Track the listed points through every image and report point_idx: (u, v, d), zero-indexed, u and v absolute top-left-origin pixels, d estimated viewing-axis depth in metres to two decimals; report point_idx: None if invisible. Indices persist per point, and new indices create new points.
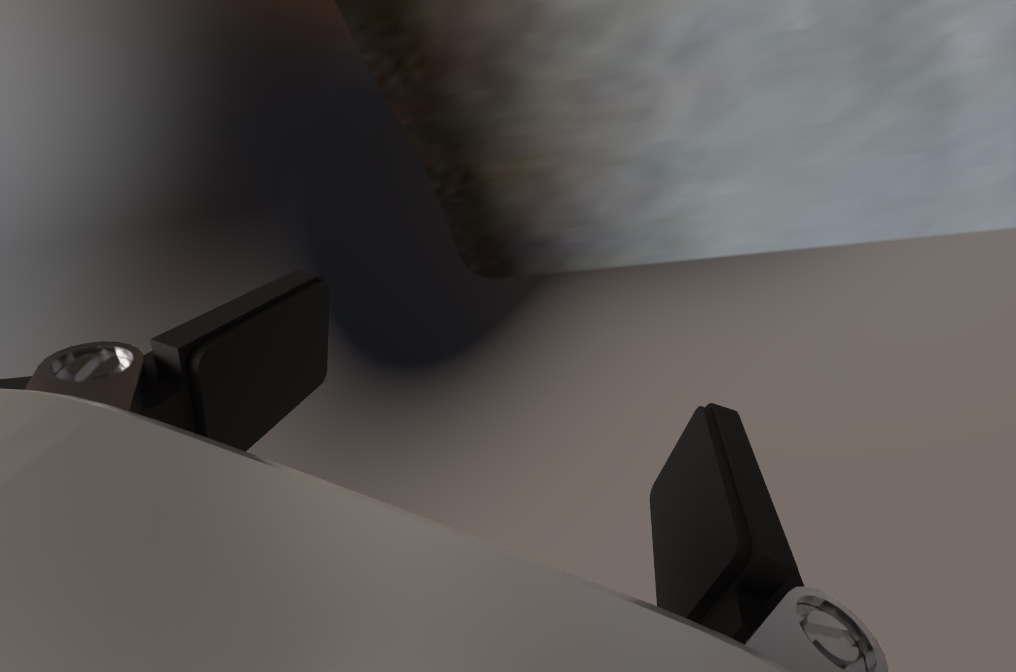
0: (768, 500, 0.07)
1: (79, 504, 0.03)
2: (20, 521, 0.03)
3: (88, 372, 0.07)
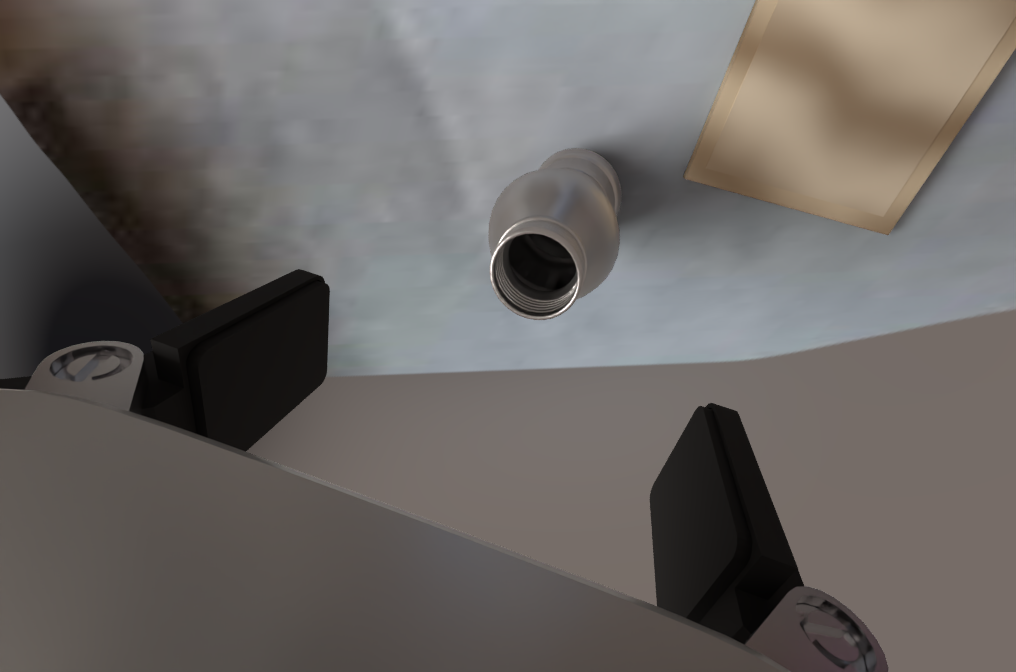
0: (768, 500, 0.07)
1: (79, 504, 0.03)
2: (20, 521, 0.03)
3: (88, 372, 0.07)
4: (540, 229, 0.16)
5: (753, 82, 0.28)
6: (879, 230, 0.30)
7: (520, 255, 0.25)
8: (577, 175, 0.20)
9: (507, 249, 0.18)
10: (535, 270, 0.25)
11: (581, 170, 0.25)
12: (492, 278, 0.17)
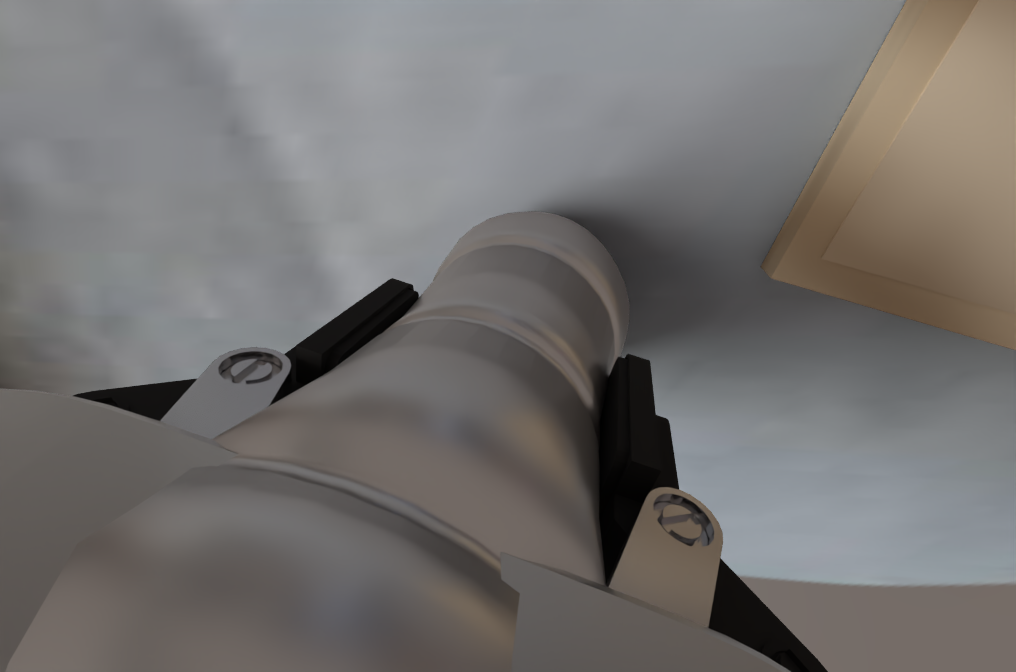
0: (653, 424, 0.08)
1: (79, 504, 0.03)
2: (20, 521, 0.03)
3: (248, 376, 0.07)
4: None
5: (973, 59, 0.11)
6: None
7: None
8: (326, 639, 0.03)
9: None
10: None
11: (510, 315, 0.08)
12: None
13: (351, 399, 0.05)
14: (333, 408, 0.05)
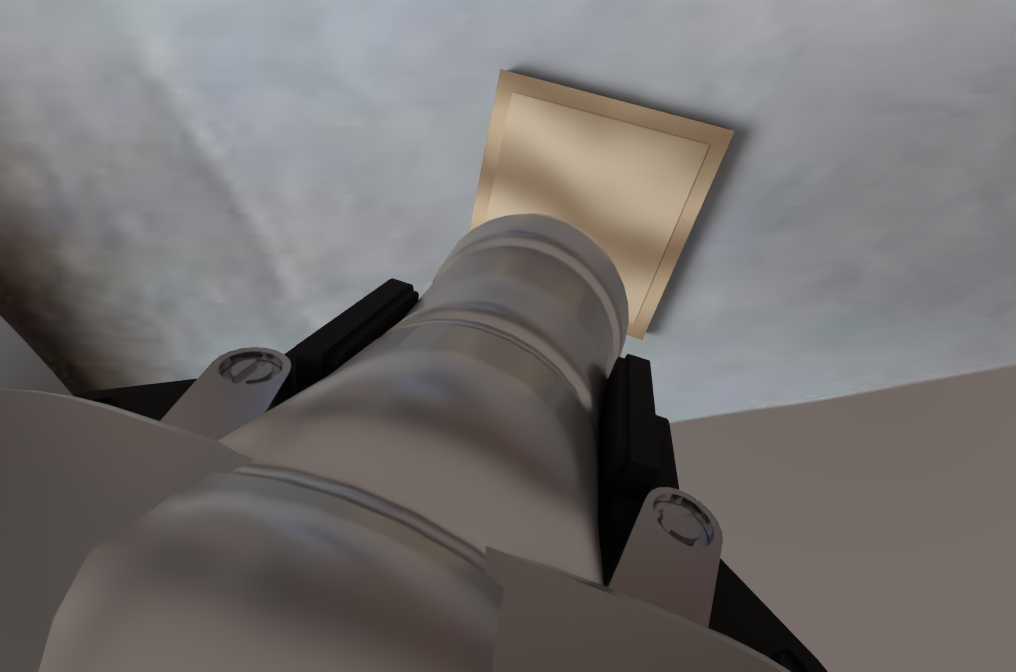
0: (653, 424, 0.08)
1: (79, 504, 0.03)
2: (20, 521, 0.03)
3: (248, 376, 0.07)
4: None
5: (498, 203, 0.30)
6: (633, 335, 0.32)
7: None
8: (325, 646, 0.03)
9: None
10: None
11: (509, 318, 0.08)
12: None
13: (350, 404, 0.05)
14: (332, 413, 0.05)
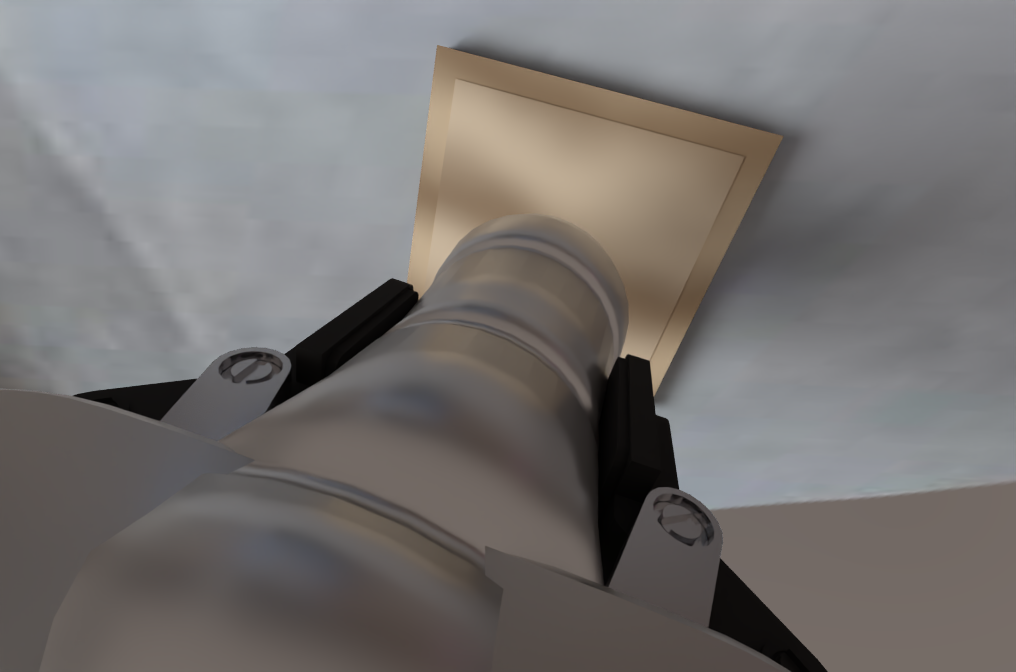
0: (653, 424, 0.08)
1: (78, 504, 0.03)
2: (19, 521, 0.03)
3: (248, 376, 0.07)
4: None
5: (445, 235, 0.21)
6: None
7: None
8: (325, 648, 0.03)
9: None
10: None
11: (509, 318, 0.08)
12: None
13: (350, 404, 0.05)
14: (332, 414, 0.05)
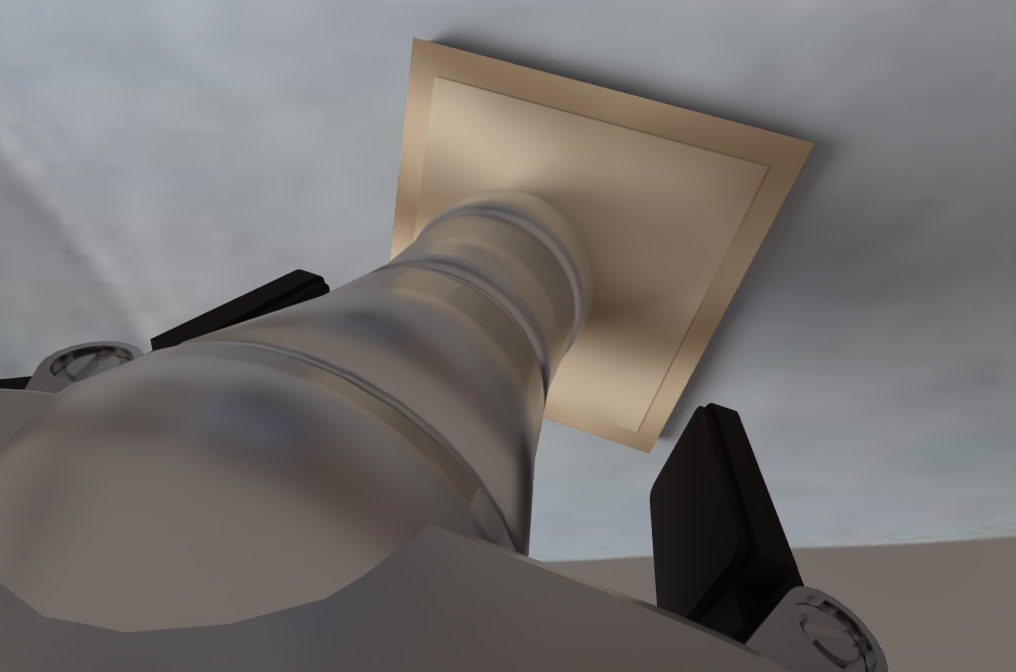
0: (768, 500, 0.07)
1: None
2: None
3: (88, 372, 0.07)
4: None
5: None
6: (636, 447, 0.21)
7: None
8: (270, 432, 0.04)
9: None
10: None
11: (467, 268, 0.09)
12: None
13: (312, 311, 0.06)
14: (296, 316, 0.06)
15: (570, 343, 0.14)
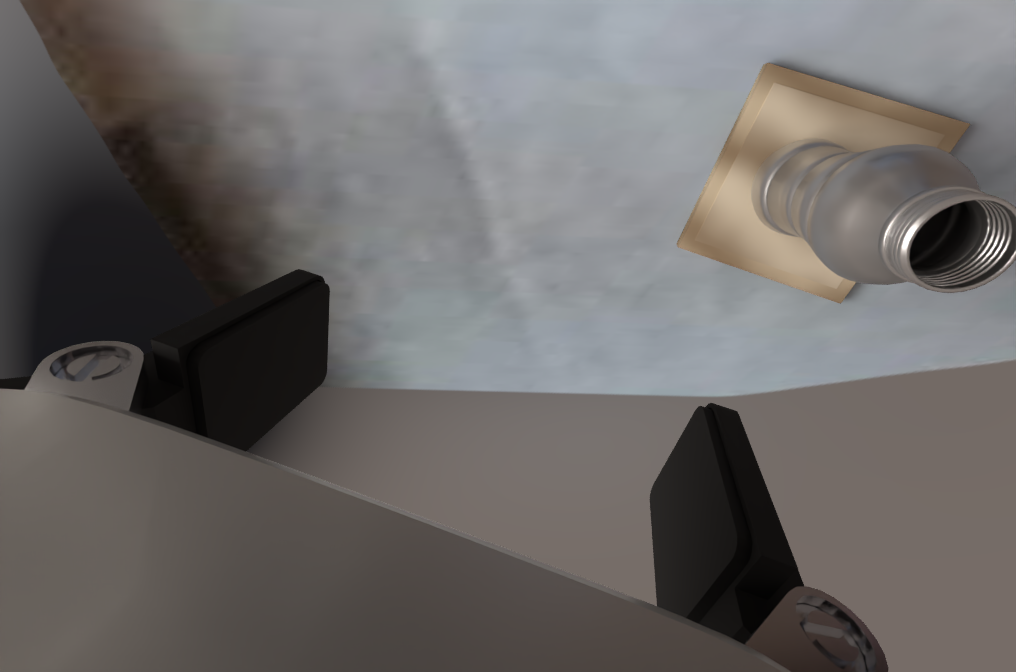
0: (768, 500, 0.07)
1: (79, 504, 0.03)
2: (20, 521, 0.03)
3: (88, 372, 0.07)
4: (992, 196, 0.16)
5: (735, 178, 0.35)
6: (833, 299, 0.37)
7: None
8: (947, 152, 0.19)
9: None
10: None
11: None
12: (910, 245, 0.17)
13: None
14: None
15: None
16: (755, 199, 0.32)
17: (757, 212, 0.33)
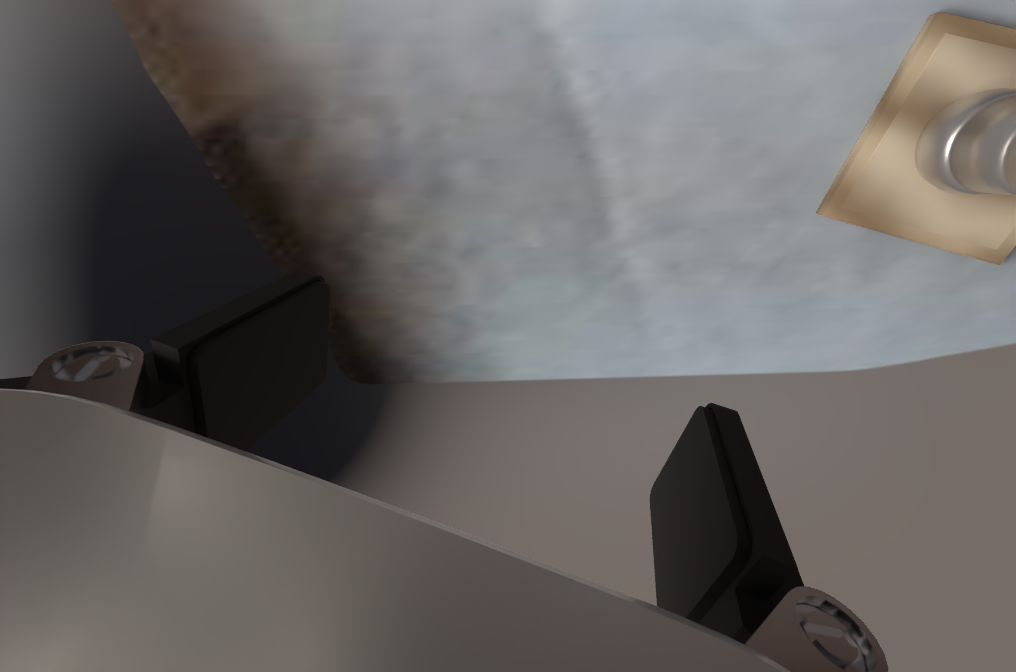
0: (768, 500, 0.07)
1: (79, 504, 0.03)
2: (20, 521, 0.03)
3: (88, 372, 0.07)
4: None
5: (892, 138, 0.33)
6: (992, 261, 0.35)
7: None
8: None
9: None
10: None
11: None
12: None
13: None
14: None
15: None
16: (928, 157, 0.31)
17: (928, 171, 0.31)
